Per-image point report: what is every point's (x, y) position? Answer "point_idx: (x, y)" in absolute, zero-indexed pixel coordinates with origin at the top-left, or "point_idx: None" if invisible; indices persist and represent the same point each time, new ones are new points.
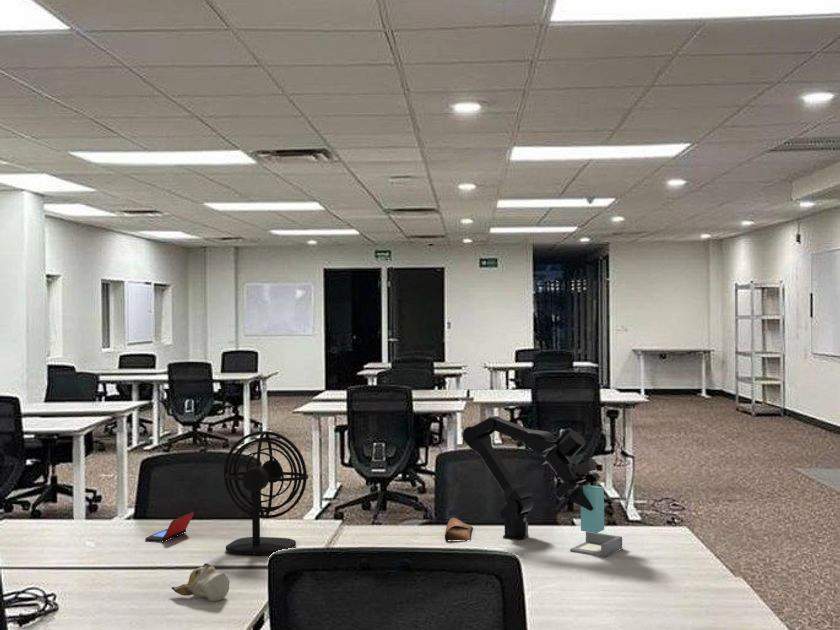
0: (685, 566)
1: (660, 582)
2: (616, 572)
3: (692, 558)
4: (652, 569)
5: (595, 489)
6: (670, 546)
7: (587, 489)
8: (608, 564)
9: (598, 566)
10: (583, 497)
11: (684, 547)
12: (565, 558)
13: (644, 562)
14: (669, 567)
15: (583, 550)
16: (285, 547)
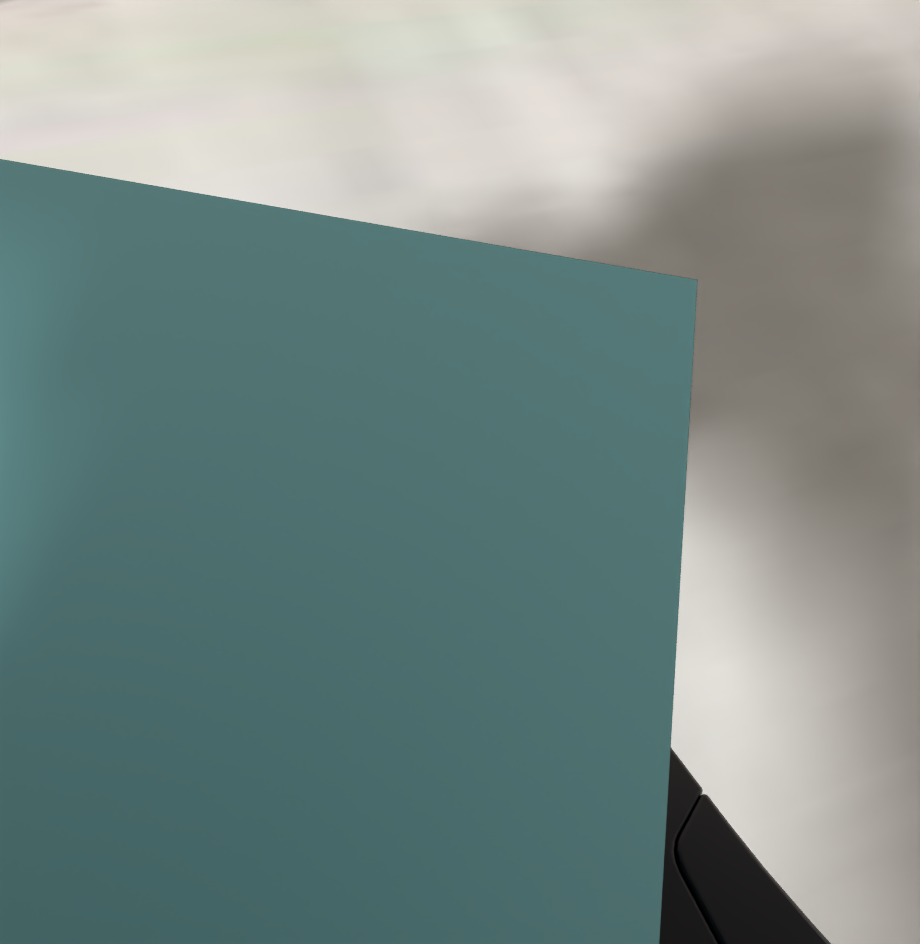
0: (500, 18)
1: (896, 82)
2: (876, 338)
3: (296, 7)
4: (671, 160)
5: (552, 335)
6: (12, 159)
7: (660, 833)
8: (726, 439)
9: (820, 491)
10: (771, 890)
11: (13, 78)
12: (769, 845)
13: (537, 232)
14: (571, 86)
15: None
16: None
